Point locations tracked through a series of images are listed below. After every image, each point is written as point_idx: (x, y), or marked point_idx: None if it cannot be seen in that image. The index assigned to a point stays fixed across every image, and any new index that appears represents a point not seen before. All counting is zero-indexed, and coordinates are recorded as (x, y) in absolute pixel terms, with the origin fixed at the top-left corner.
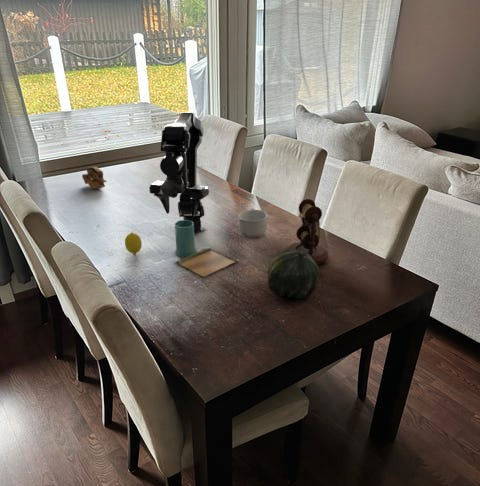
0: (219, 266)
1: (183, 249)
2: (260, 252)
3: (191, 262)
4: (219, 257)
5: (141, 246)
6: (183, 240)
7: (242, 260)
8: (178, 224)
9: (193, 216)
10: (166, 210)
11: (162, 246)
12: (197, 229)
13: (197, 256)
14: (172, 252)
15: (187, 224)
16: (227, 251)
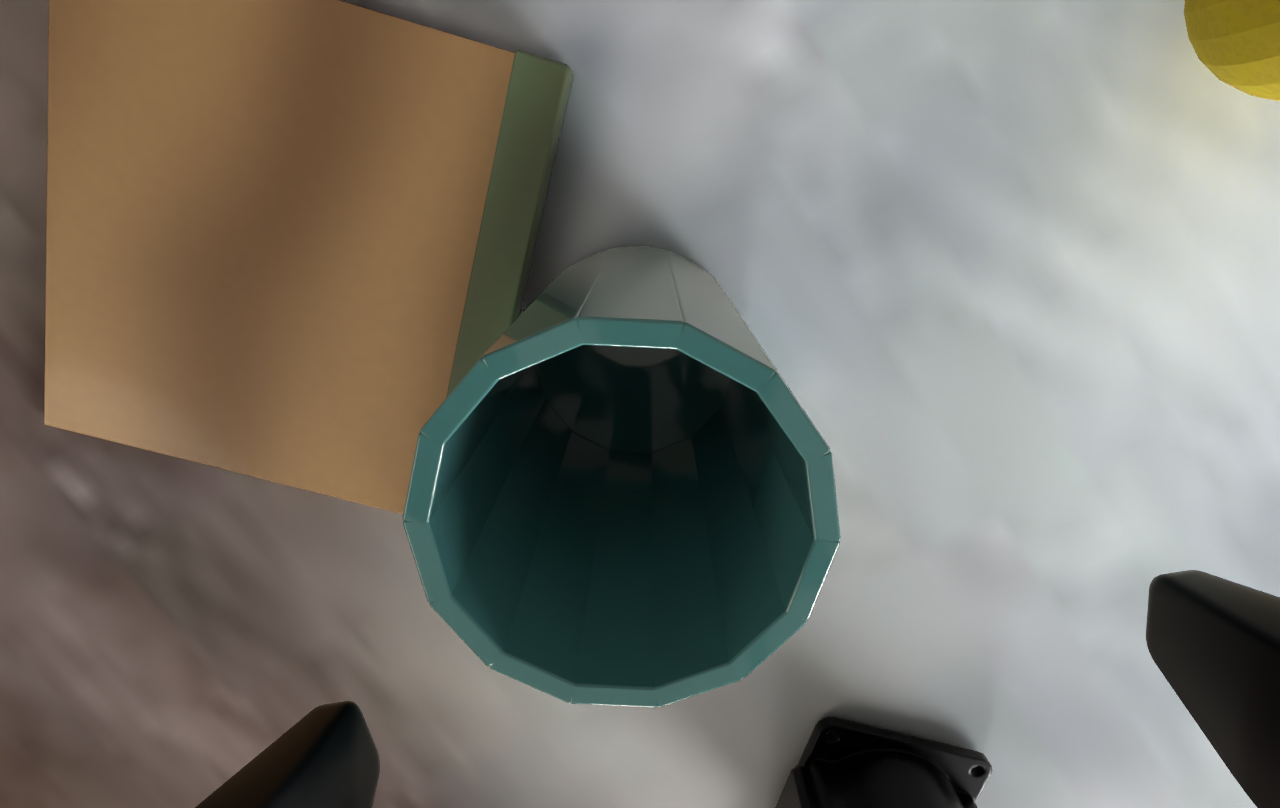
0: (92, 247)
1: (584, 265)
2: (18, 704)
3: (418, 165)
4: (240, 428)
5: (1203, 36)
6: (559, 288)
7: (29, 496)
8: (790, 526)
9: (323, 723)
10: (1277, 622)
11: (980, 359)
12: (791, 803)
13: (456, 331)
14: (786, 289)
15: (662, 628)
16: (283, 586)
